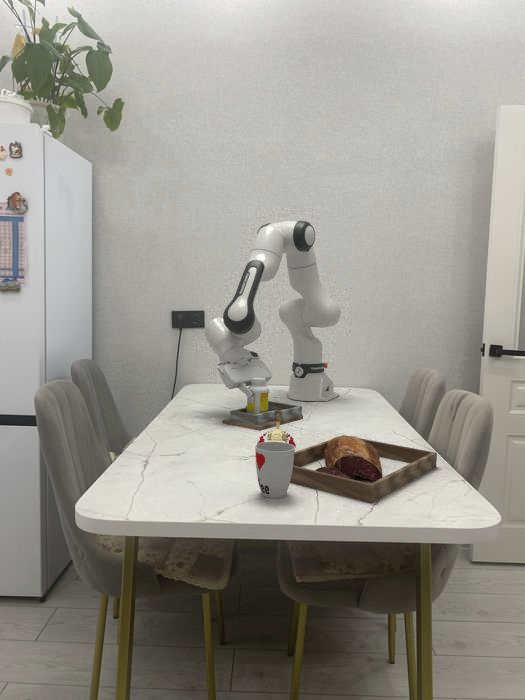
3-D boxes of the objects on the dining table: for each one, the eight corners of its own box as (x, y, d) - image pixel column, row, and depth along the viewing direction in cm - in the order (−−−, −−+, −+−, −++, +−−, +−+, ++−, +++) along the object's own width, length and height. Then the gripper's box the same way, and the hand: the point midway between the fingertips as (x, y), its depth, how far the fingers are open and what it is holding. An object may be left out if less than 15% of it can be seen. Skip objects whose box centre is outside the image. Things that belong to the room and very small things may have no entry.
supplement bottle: (268, 416, 193) (269, 377, 192) (266, 421, 186) (268, 380, 185) (248, 415, 193) (249, 376, 192) (245, 420, 187) (246, 379, 186)
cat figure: (260, 443, 169) (254, 461, 145) (260, 412, 169) (255, 425, 144) (295, 444, 169) (295, 462, 144) (296, 413, 169) (296, 426, 144)
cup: (253, 487, 127) (253, 441, 126) (290, 487, 128) (292, 441, 127) (255, 501, 119) (256, 451, 118) (296, 500, 120) (297, 451, 119)
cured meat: (304, 489, 127) (306, 458, 126) (306, 457, 152) (307, 431, 151) (390, 495, 126) (393, 464, 125) (378, 462, 150) (380, 435, 150)
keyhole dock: (267, 412, 206) (267, 400, 206) (303, 418, 197) (303, 406, 197) (222, 422, 188) (222, 410, 188) (259, 430, 179) (260, 417, 179)
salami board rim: (343, 447, 161) (343, 435, 160) (436, 466, 145) (436, 452, 144) (268, 476, 135) (268, 461, 135) (371, 503, 119) (372, 486, 119)
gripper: (220, 357, 184) (243, 392, 179) (261, 352, 200) (284, 384, 195) (209, 370, 187) (232, 404, 182) (250, 364, 203) (272, 396, 198)
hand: (259, 394), depth 189 cm, fingers closed on supplement bottle, 7 cm apart
